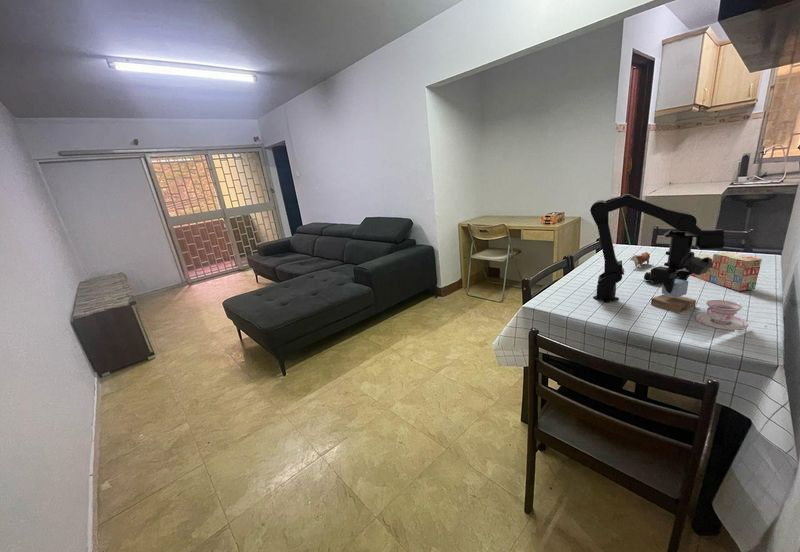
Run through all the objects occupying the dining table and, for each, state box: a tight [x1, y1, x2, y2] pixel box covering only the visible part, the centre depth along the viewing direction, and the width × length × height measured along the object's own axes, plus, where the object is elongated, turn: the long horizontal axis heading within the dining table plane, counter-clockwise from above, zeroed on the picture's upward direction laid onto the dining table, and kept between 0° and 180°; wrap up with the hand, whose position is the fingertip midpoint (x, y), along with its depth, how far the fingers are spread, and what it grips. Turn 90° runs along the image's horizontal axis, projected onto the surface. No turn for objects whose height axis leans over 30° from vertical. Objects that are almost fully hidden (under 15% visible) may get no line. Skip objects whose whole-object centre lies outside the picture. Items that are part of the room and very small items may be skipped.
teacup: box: [695, 299, 750, 331], centre depth 100 cm, size 12×12×6 cm
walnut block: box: [650, 294, 697, 313], centre depth 115 cm, size 9×9×3 cm
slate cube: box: [661, 279, 689, 297], centre depth 113 cm, size 5×5×5 cm
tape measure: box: [643, 271, 663, 284], centre depth 137 cm, size 7×7×4 cm
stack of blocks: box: [689, 251, 763, 292], centre depth 129 cm, size 21×6×12 cm, turn 2°
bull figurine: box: [629, 251, 651, 269], centre depth 156 cm, size 4×13×8 cm, turn 115°
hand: (674, 291), depth 114 cm, fingers closed on slate cube, 5 cm apart
